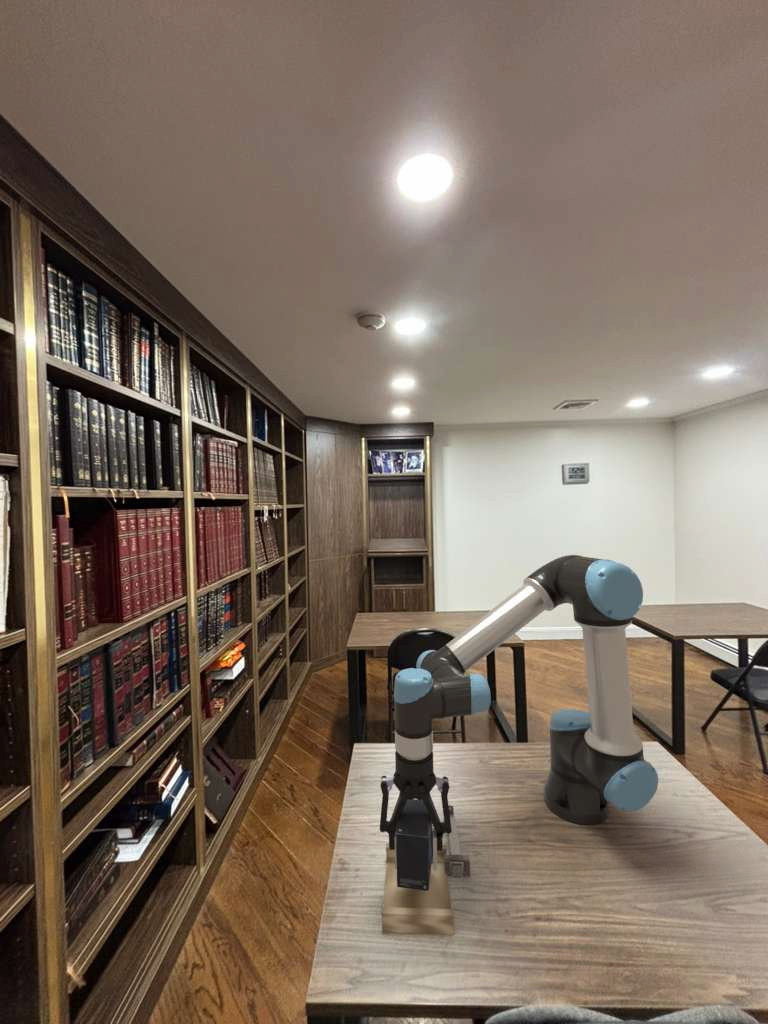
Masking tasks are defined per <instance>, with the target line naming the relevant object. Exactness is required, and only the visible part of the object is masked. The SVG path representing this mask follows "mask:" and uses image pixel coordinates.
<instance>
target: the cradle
mask: <svg viewBox="0 0 768 1024" xmlns="http://www.w3.org/2000/svg"><path fill="white" fill-rule="evenodd" d="M385 856H386V857H385V860H386V861H385V862H386V864H385V877H384V893H383V894H384V896H383V897H384V898H383V906H382V907H381V929H382V930H381V932H382V933H396V934H397V933H398V934H425V935H426V934H427V935H455V914H454V908H453V907H452V900H451V899H452V898H451V891H450V883H449V877H452V865H451V862H462V864H463V875H464V877H471V860H470V859H471V858H470V854H461V855H450V854H448V853H447V844H443V849H442V851H437V870H433V854H432V864H431V873H430V882H429V890H428V891H424V890H417V889H410V888H401V887H397V869H395V850H390V848H389V842H388V843H386V844H385Z"/></svg>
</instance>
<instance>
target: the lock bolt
mask: <svg viewBox="0 0 768 1024" xmlns="http://www.w3.org/2000/svg"><path fill="white" fill-rule="evenodd" d="M448 805H449V813H450V821H451V829H452V832H451V833H450V834H448V833H447V837H448V847H449V848H448V849H449V855H462V853H461V848H460V841H459V833H458V828H457V821H456V813H455V807H454V805H451V804H448ZM451 875H452V877H453V878H463V875H464V872H463V862H451Z"/></svg>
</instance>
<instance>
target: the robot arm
mask: <svg viewBox="0 0 768 1024" xmlns="http://www.w3.org/2000/svg"><path fill="white" fill-rule="evenodd" d="M643 601H644V590H643V586H642V582H641V580H640V578H639V577H638V575H637V573H636V572H635V571H634V570H633V569H631V568H630V567H629V566H628V565H625V564H623V563H620V562H616V561H614V560H610V559H603V558H596V557H588V556H583V555H579V554H578V555H577V554H567V555H563V556H561V557H557V558H555V559H553V560H551V561H549V562H547V563H545V564H544V565H542V566H541V567H539V568H537V569H536V570H535V571H533V572H532V573H531V574H529V575H528V576H527V577H525V578H524V579H523V585H522V586H520V588H518V589H517V590H516V591H514V592H513V593H512V594H510V595H509V596H508V597H506V598H505V599H504V600H502V601H501V602H500V603H498V604H497V605H496V606H495V607H493V608H492V609H491V610H489V611H488V612H486V613H485V614H484V615H483V616H482V617H480V618H478V620H476V621H475V622H474V623H473V624H471V625H470V626H468V627H467V628H466V629H464V630H463V631H462V632H461V633H459V634H458V635H457V636H456V637H454V638H453V639H452V640H450V641H449V642H448V643H445V645H444V646H442V647H441V648H439V649H438V650H435V649H429V650H426V651H423V652H422V653H421V654H420V655H419V656H418V658H417V660H416V666H415V667H416V668H414V667H410V668H405V669H402V670H400V671H398V672H397V673H396V675H395V677H394V678H395V679H394V688H393V702H394V703H393V705H394V723H395V724H394V748H395V749H394V750H395V754H394V755H395V757H394V758H395V759H394V760H395V772H394V774H393V775H392V776H388V777H387V776H386V775H382V776H381V778H380V790H381V794H382V797H381V799H382V800H381V810H380V819H379V831H380V832H381V833H387V834H388V843H389V848H390V850H395V869H397V858H396V829H397V824H398V821H399V820H400V817H401V814H402V812H403V809H404V806H405V805H406V802H407V800H412V799H417V800H423V802H424V805H425V806H426V808H427V811H428V814H429V816H430V819H431V822H432V854H433V870H437V851H442V849H443V845H444V844H443V837H444V835H445V834H447V835H448V834H450V833H451V832H452V829H451V821H450V813H449V805H450V804H449V798H448V794H449V791H450V782H449V778H448V777H447V776H443V777H442V778H441V777H437V776H436V774H435V772H434V752H433V751H434V723H433V722H434V720H442V719H448V718H456V717H464V716H473V715H475V714H481V713H484V712H487V711H488V710H489V708H490V706H491V701H492V700H491V699H492V695H491V689H490V686H489V685H490V684H489V683H488V681H487V678H486V677H485V676H484V675H483V674H481V673H470V672H469V673H468V674H465V673H466V672H468V671H469V670H471V669H472V668H473V667H474V666H475V665H477V664H478V663H479V662H481V661H482V660H483V659H485V657H487V656H489V654H491V653H492V652H493V651H495V650H496V649H498V647H500V646H501V645H502V644H504V643H505V642H506V641H507V640H508V639H510V638H512V636H514V635H515V634H516V633H518V632H519V631H520V630H521V629H523V628H524V627H526V626H527V625H528V624H529V623H530V622H532V621H533V620H534V619H535V618H537V617H538V616H539V615H540V614H542V613H544V611H547V612H551V611H553V610H555V608H557V607H559V606H560V605H563V604H570V605H572V610H573V611H572V612H573V620H574V622H575V623H576V624H578V625H579V627H581V629H582V630H581V631H582V641H583V651H584V663H585V664H584V666H585V674H586V687H587V697H588V698H587V699H588V709H589V711H586V710H582V709H576V708H575V709H574V708H573V709H572V708H569V709H568V708H566V709H560V710H557V711H554V712H553V713H552V714H551V716H550V721H549V728H548V729H549V745H550V746H549V747H550V750H549V751H550V754H549V755H550V770H549V772H548V775H547V778H546V780H545V783H544V787H543V798H544V799H543V800H544V802H545V804H546V806H547V807H548V808H549V810H551V812H553V814H555V815H557V816H558V817H560V818H562V819H563V820H566V821H568V822H571V823H575V824H579V825H596V824H600V823H602V822H604V821H605V820H606V819H607V818H608V816H609V803H611V804H612V805H613V806H615V807H616V808H617V809H618V810H620V811H623V812H634V811H638V810H641V809H642V808H644V807H645V806H647V805H648V804H649V803H650V802H651V800H652V799H653V798H654V796H655V794H656V792H657V789H658V786H659V775H658V771H657V770H656V768H655V767H654V766H653V765H652V763H650V762H649V761H647V760H646V759H645V757H644V756H645V755H644V745H643V741H642V739H641V737H640V736H639V735H638V734H636V733H635V731H634V721H633V720H634V719H633V707H632V696H631V684H630V673H629V672H630V670H629V661H628V658H629V657H628V650H627V649H628V647H627V636H626V629H627V628H628V627H629V626H630V625H631V624H632V623H633V617H634V616H635V615H636V614H637V613H638V612H639V610H640V608H639V607H640V606H642V605H643ZM393 786H395V787H396V788H397V790H398V791H399V795H398V797H397V800H396V803H395V806H394V809H393V812H392V814H391V818H390V820H387V818H388V807H389V799H390V798H389V796H390V795H389V794H390V791H392V789H393ZM435 786H436V787H437V791H439V792H440V797H441V798H440V799H441V805H442V806H441V807H442V813H443V815H442V816H443V821H441V819H440V817H439V815H438V811H437V809H436V807H435V804H434V801H433V799H432V796H431V791H432V790H433V789H434V787H435Z"/></svg>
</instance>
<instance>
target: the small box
mask: <svg viewBox="0 0 768 1024" xmlns="http://www.w3.org/2000/svg"><path fill="white" fill-rule="evenodd" d="M432 827H433V824H432V822H431V819H430V816H429V814H428V811H427V808H426V806H425V805H424V802H423V800H418V799H412V800H407V802H406V805H405V806H404V809H403V812H402V814H401V817H400V820H399V821H398V824H397V829H396V858H397V887H401V888H410V889H417V890H424V891H428V890H429V882H430V873H431V864H432Z"/></svg>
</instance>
